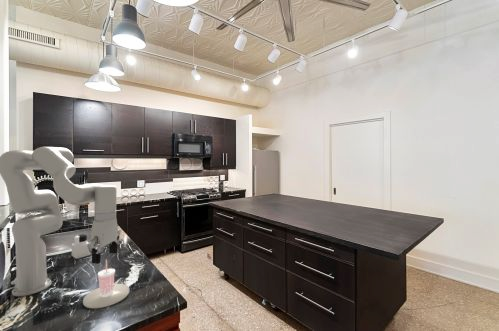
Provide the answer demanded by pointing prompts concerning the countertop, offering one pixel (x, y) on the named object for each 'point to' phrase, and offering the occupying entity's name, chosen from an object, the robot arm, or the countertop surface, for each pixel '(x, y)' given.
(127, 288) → the dish
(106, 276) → the beverage cup
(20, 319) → the countertop surface
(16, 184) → the robot arm
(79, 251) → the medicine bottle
